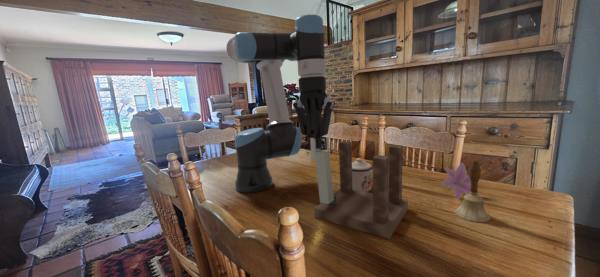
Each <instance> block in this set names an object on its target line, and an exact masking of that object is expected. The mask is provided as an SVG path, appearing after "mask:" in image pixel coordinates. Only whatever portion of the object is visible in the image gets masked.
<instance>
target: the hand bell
mask: <svg viewBox="0 0 600 277" xmlns="http://www.w3.org/2000/svg"><path fill="white" fill-rule="evenodd" d="M481 172H482V170H481V166H480V163H479V160H476V159H475V160H472V162H471V164H470V166H469V170H468V176H469V177H470V180H471V188H470V194H467V193H466V194H465V195H463V200H462V201H461V202H462V203H461V204H460V206H459V207H457V208H456V209H455V210H454V214H455V215H456V216H457V217H459V218H460V219H463V220H465V221H468V222H473V223H487V222H489V221H490V220H491V218H492V217H491V216H490V214H489V212H487V210H486V209H485V206H484V204H485V203H484V198H483V197H482V196H480V195H479V193H478V185H479V181H480V178H481V174H482V173H481Z"/></svg>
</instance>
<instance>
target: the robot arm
mask: <svg viewBox="0 0 600 277" xmlns="http://www.w3.org/2000/svg"><path fill="white" fill-rule="evenodd" d="M294 30H295V31H294V32H250V31H244V32H237V33H236V34H235V35H234V36H233V37H231V38H230V39H229V40H228V41H227V43H226V52H227V55H228V56H229V57H230V59H232V60H233V61H235V62H238V63H242V64H243V63H244V64H256V65H255V66H256V69H258V70H259V72H260V73H261V80H262V85H263V91H264V97H265V104H266V108H267V114H268V120H269V121H268V122H269V123H268V124H267V125H266V130H265V129H264V128H263V127H255V128H249V129H245V130H242V131H239V132H238V133H236V134H235V136H234V143H235V144H234V147H235V152H236V163H237V173H236V180H235V185H234V186H235V190H236V191H238V192H239V193H244V194H245V193H247V194H249V193H250V194H251V193H257V192H258V193H260V192H262V191H265V190H268V189H270V188H271V187H272V186H273V184H274V182H273V177H272V176H271V172H270V170H269V168H268V162H267V160H270V159H278V158H285V157H290V156H295V155H297V154H299V153H300V150H301V146H302V136H306V137H307V142H308V144H307V146H308V148H309V149H310V158H311V159H310V160H311V161H315V162H316V159H315V152H317V151H319V150H321V149H322V148H323V137H325V136H327V135H328V134H329V131H330V130H329V129H330V128H329V127H330V124H331V117H332V112H333V109H334V107H335V104H336V102H335V101H334V100H330V99H329V98H328V95H327V92H326V91H327V90H326V89H327V81H326V77H325V76H324V75H326V61H325V60H326V57H325V29H324V20H323V17H322V16H320V15H319V14H304V15H300V16H298V17H296V19H295V21H294ZM285 60H287V61H290V62H297V75H298V77H300V78H298V91H299V92H300V94H299V97H298V100H297V101H296V102H293V103H292V106H293V108H294V110H295V111H296V116H297V120H298V123H299V127H297V126H295V122H294V121H292V120H291V119H290V114H289V109H288V104H287V99H286V93H285V88H284V82H283V76H282V70H281V67H282V66H283V65H284V62H285ZM323 106H324V109H323Z"/></svg>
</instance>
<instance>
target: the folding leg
mask: <svg viewBox="0 0 600 277" xmlns="http://www.w3.org/2000/svg"><path fill="white" fill-rule="evenodd" d="M330 156H331V154H330V149H320V150H319V151H317V152H315V159H316V161H315V164H316V165H315V167H316V176H317V186H318V195H319V196H318V197H319V204H320V203H326V204H330V203H331V202H332V201H333V200H334V195H333V194H334V186H333V176H332V175H333V174H332V166H331V157H330Z"/></svg>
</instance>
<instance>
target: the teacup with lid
mask: <svg viewBox="0 0 600 277" xmlns="http://www.w3.org/2000/svg"><path fill="white" fill-rule="evenodd" d="M372 170H373V165H372V164H371V163H369V162H366V161H364V160H363V159H362V158H361V157H358V158H356V160H354V161H352V187H353V190H357V191H363V192H368V193H370V191H372V190H373V181H372Z"/></svg>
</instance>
